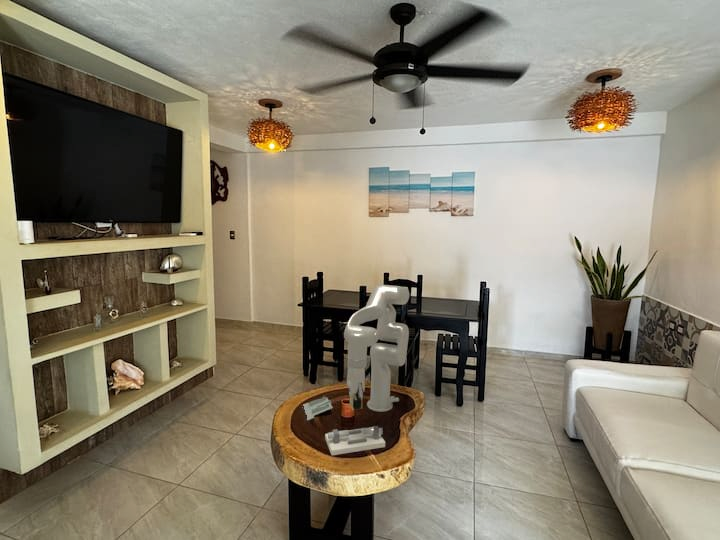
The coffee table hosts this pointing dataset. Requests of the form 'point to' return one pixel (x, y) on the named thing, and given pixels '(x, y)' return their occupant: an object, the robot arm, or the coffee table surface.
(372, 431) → the left shaft
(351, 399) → the coupler
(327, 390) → the coffee table surface
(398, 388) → the coffee table surface
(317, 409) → the metal bracket
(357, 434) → the shaft mount
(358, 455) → the coffee table surface
